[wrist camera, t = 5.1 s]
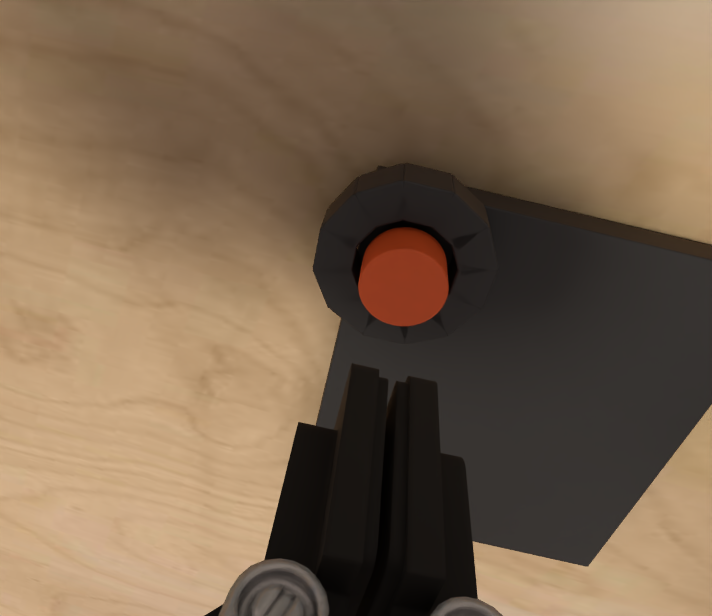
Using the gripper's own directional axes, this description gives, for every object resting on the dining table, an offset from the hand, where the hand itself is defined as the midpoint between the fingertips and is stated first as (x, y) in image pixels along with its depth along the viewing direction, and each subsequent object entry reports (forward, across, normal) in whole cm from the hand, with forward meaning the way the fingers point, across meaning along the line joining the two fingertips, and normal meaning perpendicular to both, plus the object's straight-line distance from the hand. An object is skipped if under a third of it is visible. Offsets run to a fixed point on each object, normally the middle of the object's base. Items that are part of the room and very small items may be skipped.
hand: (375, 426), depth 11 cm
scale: (+10, -6, +6) cm, 13 cm away
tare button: (+7, 0, 0) cm, 7 cm away
